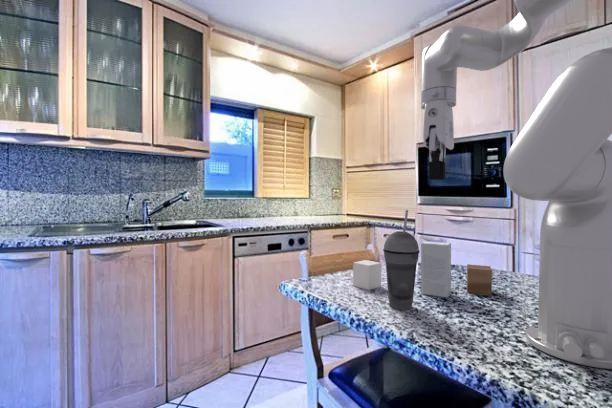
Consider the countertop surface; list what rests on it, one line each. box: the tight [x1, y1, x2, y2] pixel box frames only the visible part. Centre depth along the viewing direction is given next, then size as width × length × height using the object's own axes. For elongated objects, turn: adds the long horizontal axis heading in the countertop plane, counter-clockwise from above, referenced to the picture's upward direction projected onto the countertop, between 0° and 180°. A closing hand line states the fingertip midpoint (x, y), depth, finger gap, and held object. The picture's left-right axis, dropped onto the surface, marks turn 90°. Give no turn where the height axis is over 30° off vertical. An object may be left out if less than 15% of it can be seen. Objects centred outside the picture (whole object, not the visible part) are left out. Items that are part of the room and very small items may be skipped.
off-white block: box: [352, 259, 382, 291], centre depth 83 cm, size 5×5×6 cm
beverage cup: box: [383, 209, 421, 311], centre depth 67 cm, size 7×7×20 cm
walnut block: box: [466, 264, 493, 297], centre depth 79 cm, size 5×5×6 cm
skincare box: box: [420, 241, 452, 299], centre depth 77 cm, size 6×4×12 cm
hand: (436, 179), depth 76 cm, fingers closed
